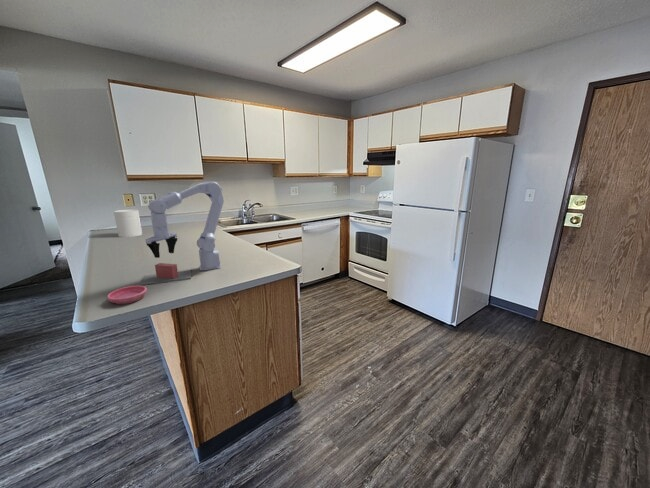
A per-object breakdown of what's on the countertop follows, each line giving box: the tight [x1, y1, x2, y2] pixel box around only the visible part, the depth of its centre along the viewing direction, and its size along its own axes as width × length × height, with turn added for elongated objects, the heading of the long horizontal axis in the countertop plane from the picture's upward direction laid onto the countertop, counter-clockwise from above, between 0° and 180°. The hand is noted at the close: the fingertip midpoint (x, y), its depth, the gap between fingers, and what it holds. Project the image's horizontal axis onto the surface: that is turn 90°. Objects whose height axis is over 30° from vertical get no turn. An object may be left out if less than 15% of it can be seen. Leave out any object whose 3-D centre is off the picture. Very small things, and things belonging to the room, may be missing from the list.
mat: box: [138, 269, 192, 286], centre depth 123 cm, size 20×12×1 cm, turn 114°
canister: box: [113, 209, 143, 238], centre depth 213 cm, size 16×16×20 cm
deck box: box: [154, 262, 179, 279], centre depth 122 cm, size 3×9×6 cm, turn 79°
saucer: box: [106, 284, 148, 305], centre depth 102 cm, size 12×12×3 cm
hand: (164, 255), depth 123 cm, fingers open, 7 cm apart
